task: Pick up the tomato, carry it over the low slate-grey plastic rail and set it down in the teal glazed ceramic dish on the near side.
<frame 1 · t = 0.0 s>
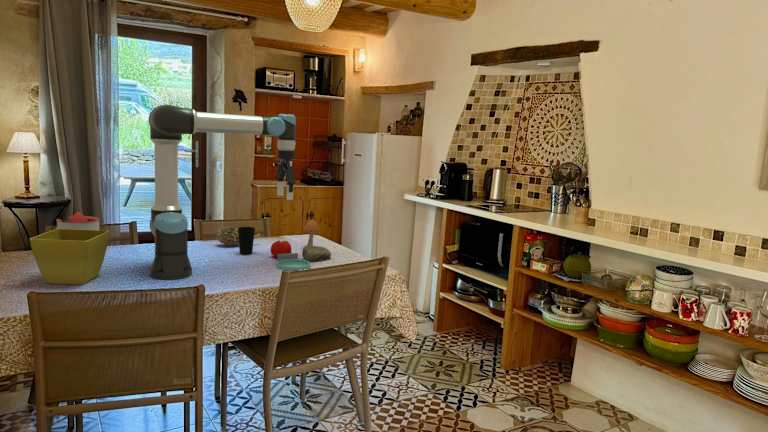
hand: (284, 197, 235), 28 cm above the table, fingers open, 13 cm apart
cup: (245, 253, 246), on the table
citrus juicer: (77, 259, 220), on the table
rail: (287, 261, 235), on the table
dish: (293, 266, 227), on the table
mushroom: (311, 249, 264), on the table
flower pot: (72, 280, 191), on the table
tomato: (280, 257, 242), on the table
pine cone: (238, 245, 262), on the table
stone: (315, 260, 242), on the table
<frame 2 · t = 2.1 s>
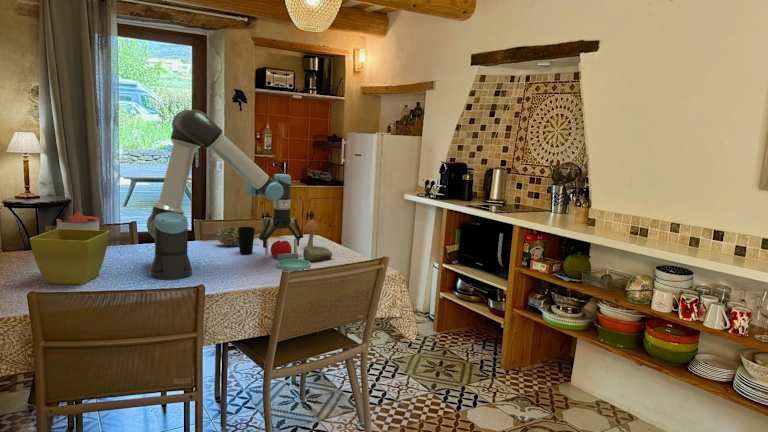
hand: (281, 254, 242), 1 cm above the table, fingers open, 13 cm apart
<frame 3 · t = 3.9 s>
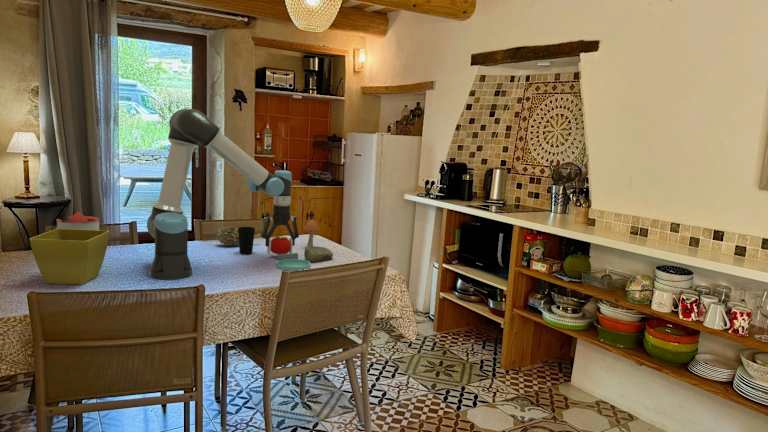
hand: (279, 253, 242), 2 cm above the table, fingers closed on tomato, 9 cm apart
tomato: (279, 254, 242), point 1 cm above the table, touching gripper
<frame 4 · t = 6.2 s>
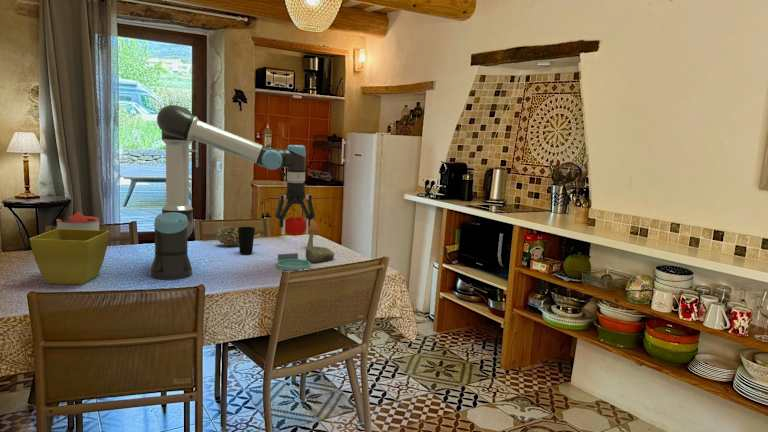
hand: (294, 234, 225), 14 cm above the table, fingers closed on tomato, 9 cm apart
tomato: (294, 235, 225), point 14 cm above the table, touching gripper
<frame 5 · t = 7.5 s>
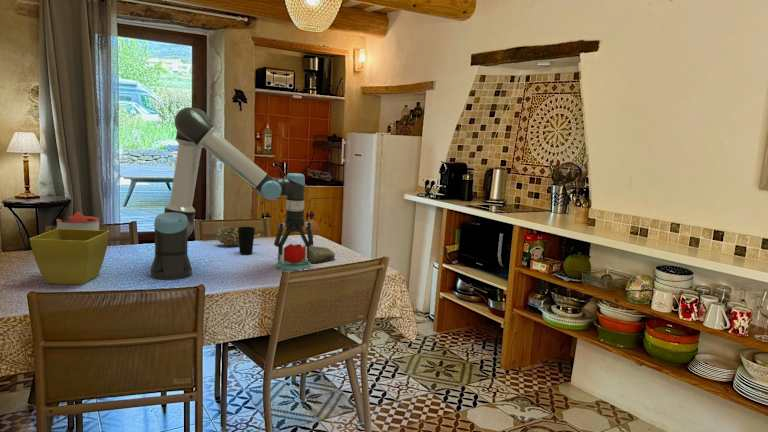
hand: (293, 261, 227), 2 cm above the table, fingers closed on tomato, 9 cm apart
tomato: (293, 262, 227), point 2 cm above the table, touching gripper
when the fingers open (2 cm above the table, at t = 8.3 s): tomato drops 1 cm, resting on dish.
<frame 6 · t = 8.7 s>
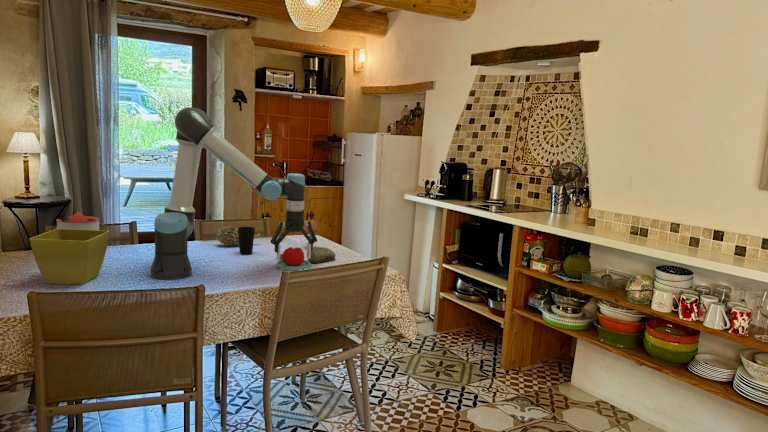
hand: (293, 259, 227), 3 cm above the table, fingers open, 13 cm apart
tomato: (292, 265, 227), resting on dish
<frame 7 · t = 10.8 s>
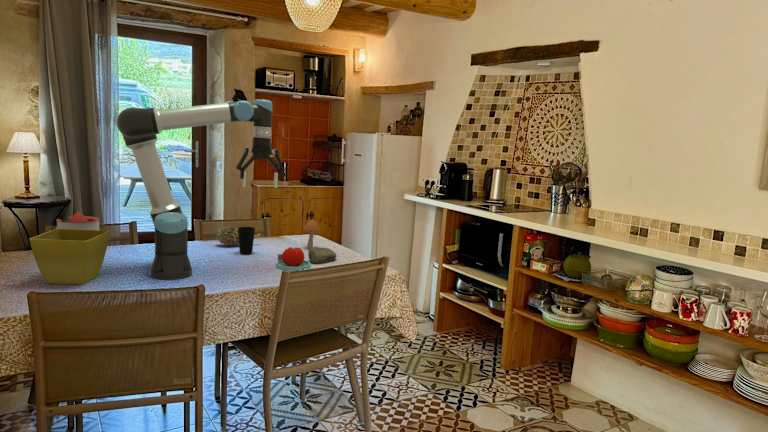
hand: (259, 187, 225), 33 cm above the table, fingers open, 13 cm apart
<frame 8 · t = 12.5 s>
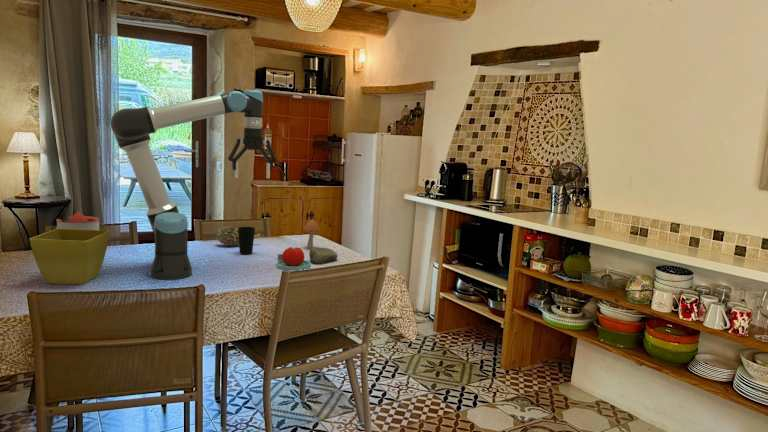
hand: (252, 178, 226), 37 cm above the table, fingers open, 13 cm apart
at the end: tomato 0.3 cm from the dish (horizontally); tomato resting on dish; the gripper is holding nothing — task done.
